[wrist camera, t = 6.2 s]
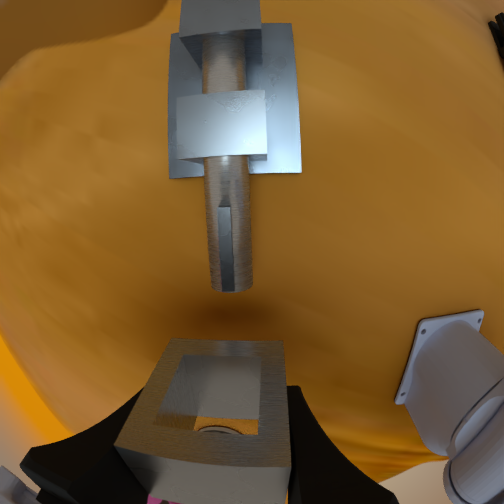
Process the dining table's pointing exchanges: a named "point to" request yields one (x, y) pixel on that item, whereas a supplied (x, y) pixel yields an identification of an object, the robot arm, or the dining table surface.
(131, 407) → the robot arm
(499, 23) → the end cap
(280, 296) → the dining table surface
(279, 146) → the shaft stand
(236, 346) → the collar
